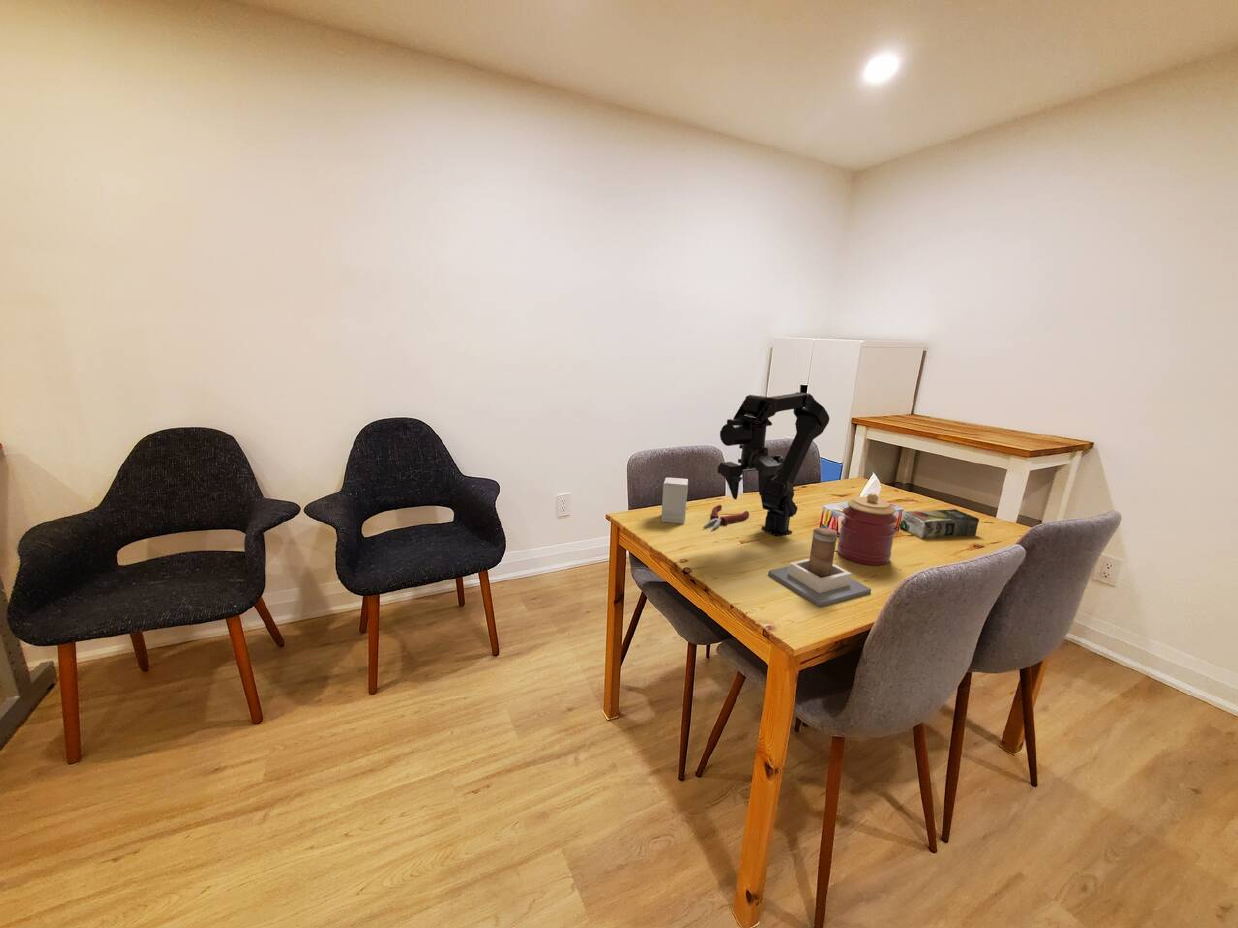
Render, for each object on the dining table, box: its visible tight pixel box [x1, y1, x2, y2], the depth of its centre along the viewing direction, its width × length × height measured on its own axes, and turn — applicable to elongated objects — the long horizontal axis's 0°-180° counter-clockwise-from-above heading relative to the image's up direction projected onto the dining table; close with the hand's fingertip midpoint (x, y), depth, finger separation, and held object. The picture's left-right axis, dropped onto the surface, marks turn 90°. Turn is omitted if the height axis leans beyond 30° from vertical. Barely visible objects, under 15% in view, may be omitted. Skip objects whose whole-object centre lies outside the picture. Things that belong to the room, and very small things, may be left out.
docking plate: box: [767, 558, 872, 608], centre depth 114 cm, size 16×16×4 cm
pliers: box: [702, 504, 750, 531], centre depth 152 cm, size 12×20×3 cm, turn 145°
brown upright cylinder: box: [808, 527, 838, 578], centre depth 113 cm, size 5×5×12 cm
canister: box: [837, 492, 899, 566], centre depth 129 cm, size 13×13×18 cm
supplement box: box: [660, 477, 689, 525], centre depth 152 cm, size 7×7×13 cm
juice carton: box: [899, 508, 980, 539], centre depth 149 cm, size 20×10×6 cm, turn 100°
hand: (748, 497), depth 135 cm, fingers open, 9 cm apart
